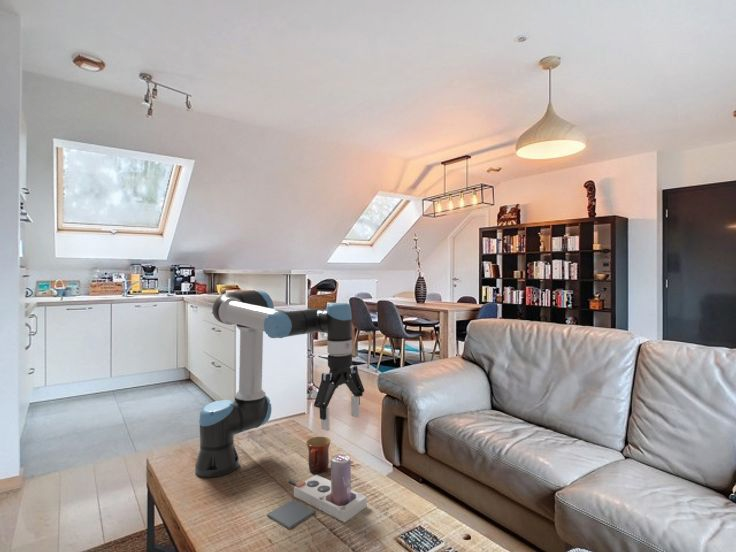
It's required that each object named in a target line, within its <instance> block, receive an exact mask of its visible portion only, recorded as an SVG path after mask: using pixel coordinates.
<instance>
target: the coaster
mask: <svg viewBox="0 0 736 552" xmlns="http://www.w3.org/2000/svg"><path fill="white" fill-rule="evenodd" d="M315 513H316V510H315V509H313V508H311V507H309V506H307V505H306V504H303V503H301V502H300V501H298V500H296V499H290V500H289V501H287V502H286V503H284V504H283V505H280V506H279V507H277V508H275V509H274V510H272V511H270V512H268V513H267V514H266V516H267V517H268V518H270V519H271V520H273V521H275V522H276V523H278V524H280V525H281V526H283V527H285V528H286V529H288V530H290V529H293V527H295V526H297V525H299V524H300V523H302V522H303V521H305V520H306V519H308V518H309V517H312V515H314V514H315Z"/></svg>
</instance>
